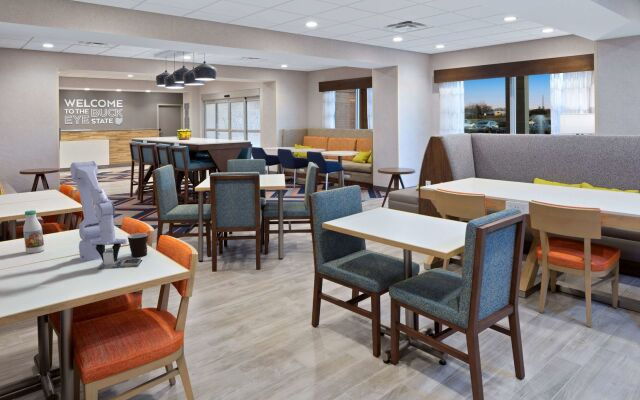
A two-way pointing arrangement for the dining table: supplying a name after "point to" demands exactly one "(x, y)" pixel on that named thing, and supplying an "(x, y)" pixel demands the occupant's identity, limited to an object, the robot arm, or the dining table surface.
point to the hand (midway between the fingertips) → (110, 261)
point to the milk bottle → (33, 233)
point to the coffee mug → (138, 244)
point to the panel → (122, 264)
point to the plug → (108, 257)
